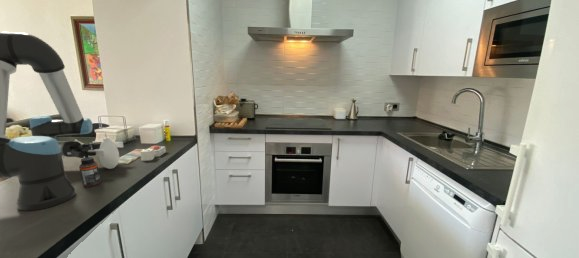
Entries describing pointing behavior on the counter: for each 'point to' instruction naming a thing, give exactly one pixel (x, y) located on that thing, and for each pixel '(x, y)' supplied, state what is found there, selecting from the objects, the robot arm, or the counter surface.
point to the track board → (130, 157)
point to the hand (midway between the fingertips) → (114, 148)
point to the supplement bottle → (89, 172)
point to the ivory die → (147, 154)
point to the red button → (155, 147)
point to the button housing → (159, 151)
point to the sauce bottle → (109, 153)
